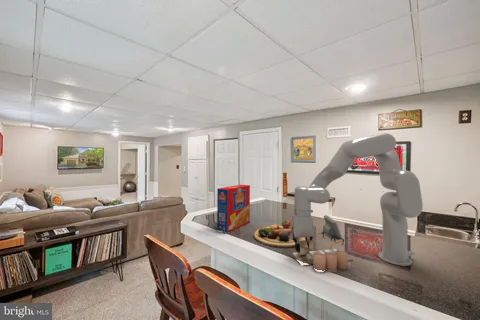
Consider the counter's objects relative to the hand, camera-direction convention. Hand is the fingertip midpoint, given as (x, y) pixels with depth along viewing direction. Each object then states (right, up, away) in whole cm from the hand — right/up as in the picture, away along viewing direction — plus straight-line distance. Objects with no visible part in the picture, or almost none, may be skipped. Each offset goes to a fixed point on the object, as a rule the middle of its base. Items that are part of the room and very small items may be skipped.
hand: (302, 250), depth 100 cm
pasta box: (-33, -4, +45) cm, 56 cm away
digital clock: (+28, -4, +31) cm, 42 cm away
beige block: (0, -1, -2) cm, 2 cm away
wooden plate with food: (-5, -4, +27) cm, 27 cm away
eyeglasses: (+18, -4, +17) cm, 26 cm away
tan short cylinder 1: (+4, -3, -11) cm, 12 cm away
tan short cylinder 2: (+9, -3, -10) cm, 14 cm away
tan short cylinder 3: (+15, -3, -8) cm, 17 cm away
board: (+9, -3, 0) cm, 10 cm away
